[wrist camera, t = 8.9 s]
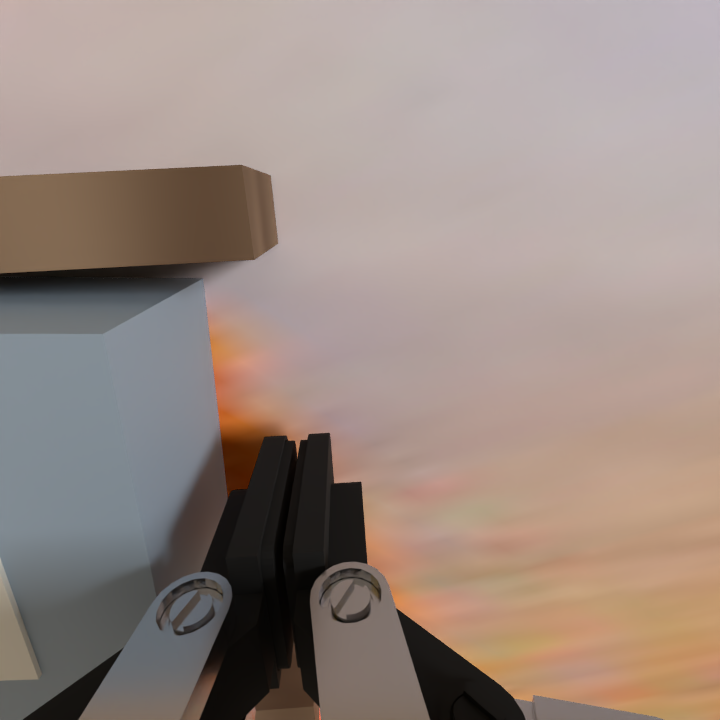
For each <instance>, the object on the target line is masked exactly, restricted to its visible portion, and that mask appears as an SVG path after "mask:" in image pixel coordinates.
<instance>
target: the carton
mask: <svg viewBox="0 0 720 720" xmlns="http://www.w3.org/2000/svg"><path fill="white" fill-rule="evenodd" d="M227 500H228V495H227V486H226V477H225V468H224V460H223V451H222V442H221V433H220V424H219V415H218V406H217V398H216V389H215V380H214V371H213V362H212V353H211V345H210V336H209V327H208V318H207V309H206V300H205V291H204V283H203V278H101V277H0V720H23V719H24V718H25V717H27V716H28V715H30V714H31V713H32V712H34V711H35V710H37V709H38V708H39V707H41V706H42V705H44V704H45V703H46V702H48V701H49V700H51V699H52V698H53V697H55V696H56V695H58V694H59V693H60V692H62V691H63V690H65V689H66V688H68V687H69V686H70V685H72V684H73V683H75V682H76V681H77V680H79V679H80V678H82V677H83V676H84V675H86V674H87V673H89V672H90V671H91V670H93V669H94V668H96V667H97V666H98V665H100V664H101V663H103V662H104V661H105V660H107V659H108V658H110V657H111V656H113V655H114V654H115V653H117V652H118V651H120V650H121V649H122V648H124V647H125V645H126V644H127V642H128V640H129V639H130V637H131V636H132V634H133V632H134V631H135V629H136V628H137V626H138V625H139V623H140V621H141V620H142V618H143V617H144V615H145V613H146V612H147V610H148V609H149V607H150V606H151V604H152V602H153V601H154V600H155V599H156V597H157V596H158V595H159V594H160V592H161V591H163V590H164V589H165V588H166V587H168V586H169V585H170V584H171V583H173V582H175V581H176V580H178V579H180V578H182V577H184V576H187V575H190V574H193V573H197V572H200V571H201V569H202V566H203V563H204V561H205V558H206V555H207V553H208V550H209V548H210V545H211V542H212V540H213V537H214V534H215V532H216V529H217V526H218V524H219V521H220V518H221V516H222V513H223V510H224V508H225V505H226V502H227Z"/></svg>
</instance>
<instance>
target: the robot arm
mask: <svg viewBox="0 0 720 720" xmlns="http://www.w3.org/2000/svg"><path fill="white" fill-rule="evenodd" d="M293 644H294V645H295V652H296V660H297V666H298V668H300V670H301V677H302V685H303V690H304V691H305V692H306V693H307V694H308V695H309V696H310V698H311V699H312V700H313V701H314V702H315V703H316V704H317V705H318V706H319V707H320V713H321V720H663V719H660V718H657V717H653V716H647V715H642V714H636V713H631V712H625V711H619V710H614V709H608V708H602V707H597V706H591V705H586V704H580V703H574V702H569V701H563V700H558V699H552V698H546V697H541V696H535V695H533V700H532V702H529V701H524V700H518V699H514V698H513V697H512V696H511V695H510V694H509V693H508V692H507V691H506V690H505V689H504V688H503V687H502V686H501V685H499V684H498V683H496V682H495V681H494V680H492V679H491V678H490V677H488V676H487V675H486V674H484V673H483V672H482V671H480V670H479V669H478V668H476V667H475V666H474V665H472V664H471V663H469V662H468V661H467V660H465V659H464V658H463V657H461V656H460V655H459V654H457V653H456V652H455V651H453V650H452V649H451V648H449V647H448V646H446V645H445V644H444V643H442V642H441V641H440V640H438V639H437V638H436V637H434V636H433V635H432V634H430V633H429V632H428V631H426V630H425V629H424V628H422V627H421V626H419V625H418V624H417V623H415V622H414V621H413V620H411V619H410V618H409V617H407V616H406V615H405V614H403V613H402V612H401V611H399V610H398V609H396V607H395V604H394V600H393V597H392V594H391V591H390V587H389V585H388V583H387V581H386V579H385V577H384V576H383V575H382V574H381V573H380V572H379V571H378V570H377V569H376V568H374V567H372V566H370V565H368V564H367V553H366V539H365V526H364V512H363V499H362V485H361V482H351V483H335V484H334V477H333V464H332V452H331V439H330V433H320V434H309V435H308V440H301V441H300V447H299V453H298V459H297V452H296V444H295V441H288V439H287V436H271V437H264V440H263V443H262V446H261V449H260V452H259V455H258V458H257V461H256V464H255V468H254V471H253V474H252V477H251V480H250V483H249V486H248V489H241V490H233V491H231V493H230V495H229V497H228V500H227V502H226V505H225V508H224V510H223V513H222V516H221V518H220V521H219V524H218V526H217V529H216V532H215V534H214V537H213V540H212V542H211V545H210V548H209V550H208V553H207V555H206V558H205V561H204V563H203V566H202V569H201V571H200V572H197V573H193V574H190V575H187V576H184V577H182V578H180V579H178V580H176V581H175V582H173V583H171V584H170V585H169V586H168V587H166V588H165V589H164V590H163V591H161V592H160V594H159V595H158V596H157V597H156V599H155V600H154V601H153V602H152V604H151V606H150V607H149V609H148V610H147V612H146V613H145V615H144V617H143V618H142V620H141V621H140V623H139V625H138V626H137V628H136V629H135V631H134V632H133V634H132V636H131V637H130V639H129V640H128V642H127V644H126V645H125V647H124V648H122V649H121V650H120V651H118V652H117V653H115V654H114V655H113V656H111V657H110V658H108V659H107V660H105V661H104V662H103V663H101V664H100V665H98V666H97V667H96V668H94V669H93V670H91V671H90V672H89V673H87V674H86V675H84V676H83V677H82V678H80V679H79V680H77V681H76V682H75V683H73V684H72V685H70V686H69V687H68V688H66V689H65V690H63V691H62V692H60V693H59V694H58V695H56V696H55V697H53V698H52V699H51V700H49V701H48V702H46V703H45V704H44V705H42V706H41V707H39V708H38V709H37V710H35V711H34V712H32V713H31V714H30V715H28V716H27V717H25V718H24V719H23V720H255V714H256V709H255V706H256V705H257V704H258V703H259V702H260V701H261V700H262V699H263V698H264V697H265V696H266V695H267V694H268V693H269V692H270V689H278V688H279V687H280V679H281V671H282V669H289V668H290V667H291V662H292V653H293Z"/></svg>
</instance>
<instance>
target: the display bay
mask: <svg viewBox="0 0 720 720" xmlns="http://www.w3.org/2000/svg"><path fill="white" fill-rule="evenodd" d="M277 244H278V238H277V229H276V220H275V211H274V202H273V193H272V184H271V176H270V175H268V174H265V173H262V172H260V171H257V170H254V169H251V168H249V167H246V166H243V165H231V166H210V167H189V168H168V169H148V170H127V171H106V172H85V173H64V174H44V175H23V176H2V177H0V273H15V272H34V271H52V270H71V269H90V268H108V267H127V266H146V265H165V264H183V263H202V262H221V261H240V260H255V259H256V258H258V257H259V256H260V255H262V254H263V253H265V252H266V251H268V250H269V249H271V248H272V247H274V246H275V245H277ZM255 709H256V714H255V720H319V706H318V705H317V704H316V703H315V702H314V701H313V700H312V699H311V698H310V696H309V695H308V694H307V693H306V692H305V691H304V690H303V685H302V677H301V670H300V668H298V666H297V660H296V652H295V645H294V644H293V653H292V662H291V667H290V668H289V669H282V671H281V679H280V687H279V688H278V689H270V692H269V693H268V694H267V695H266V696H265V697H264V698H263V699H262V700H261V701H260V702H259V703H258V704H257V705H256V706H255Z"/></svg>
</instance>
